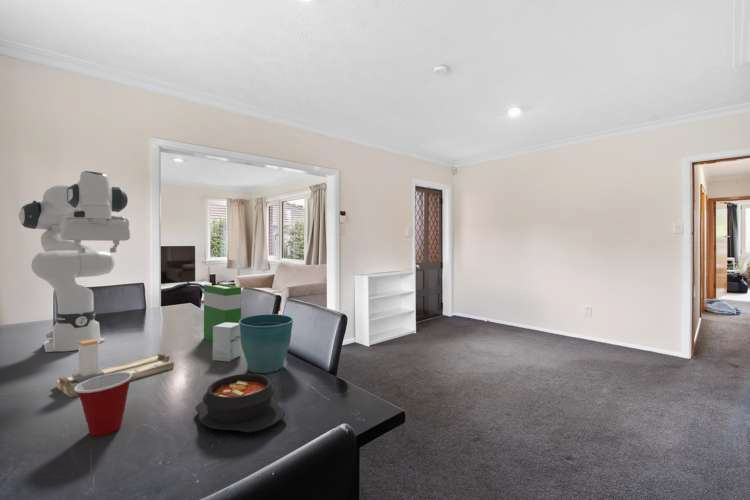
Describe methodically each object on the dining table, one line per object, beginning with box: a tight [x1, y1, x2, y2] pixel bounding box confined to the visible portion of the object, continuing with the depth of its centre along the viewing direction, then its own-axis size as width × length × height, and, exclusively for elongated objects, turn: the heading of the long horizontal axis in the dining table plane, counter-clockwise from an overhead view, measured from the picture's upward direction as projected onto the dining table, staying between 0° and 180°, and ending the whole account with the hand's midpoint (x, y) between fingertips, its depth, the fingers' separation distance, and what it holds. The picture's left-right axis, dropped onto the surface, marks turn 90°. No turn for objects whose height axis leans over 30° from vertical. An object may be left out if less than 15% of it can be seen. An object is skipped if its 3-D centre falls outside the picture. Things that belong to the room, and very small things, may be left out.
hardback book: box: [203, 282, 242, 342], centre depth 154 cm, size 18×7×24 cm, turn 52°
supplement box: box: [212, 322, 242, 362], centre depth 132 cm, size 7×7×13 cm
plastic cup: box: [74, 372, 132, 438], centre depth 82 cm, size 11×11×12 cm
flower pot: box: [239, 313, 294, 374], centre depth 123 cm, size 18×18×17 cm
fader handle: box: [71, 339, 104, 383], centre depth 106 cm, size 6×6×11 cm
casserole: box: [195, 373, 286, 433], centre depth 89 cm, size 25×19×8 cm
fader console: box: [55, 352, 175, 398], centre depth 113 cm, size 12×28×4 cm, turn 146°
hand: (98, 252), depth 129 cm, fingers open, 8 cm apart
